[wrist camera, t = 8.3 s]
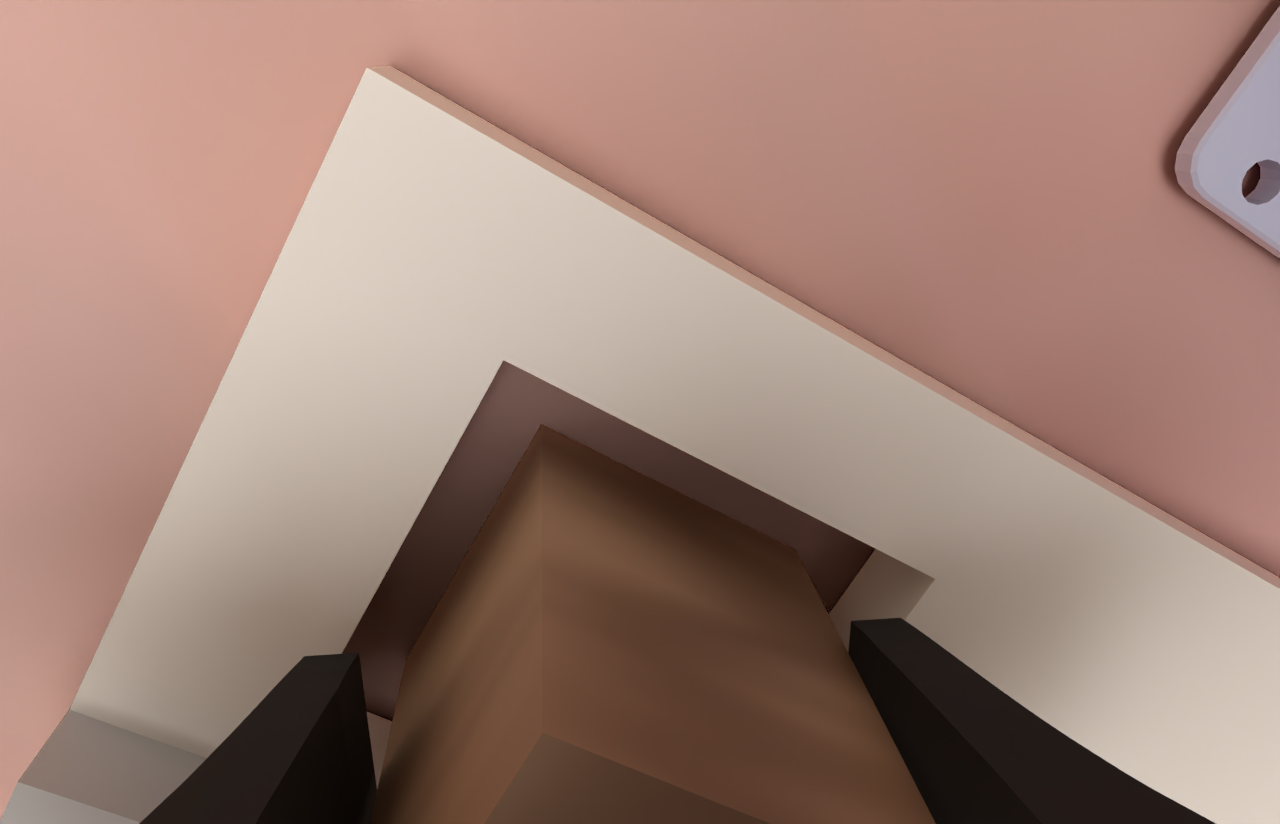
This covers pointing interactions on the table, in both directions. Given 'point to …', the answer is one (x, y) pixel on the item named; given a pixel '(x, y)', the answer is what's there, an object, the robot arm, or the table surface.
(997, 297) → the table surface
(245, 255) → the table surface
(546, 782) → the walnut block
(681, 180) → the table surface
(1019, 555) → the puzzle board
